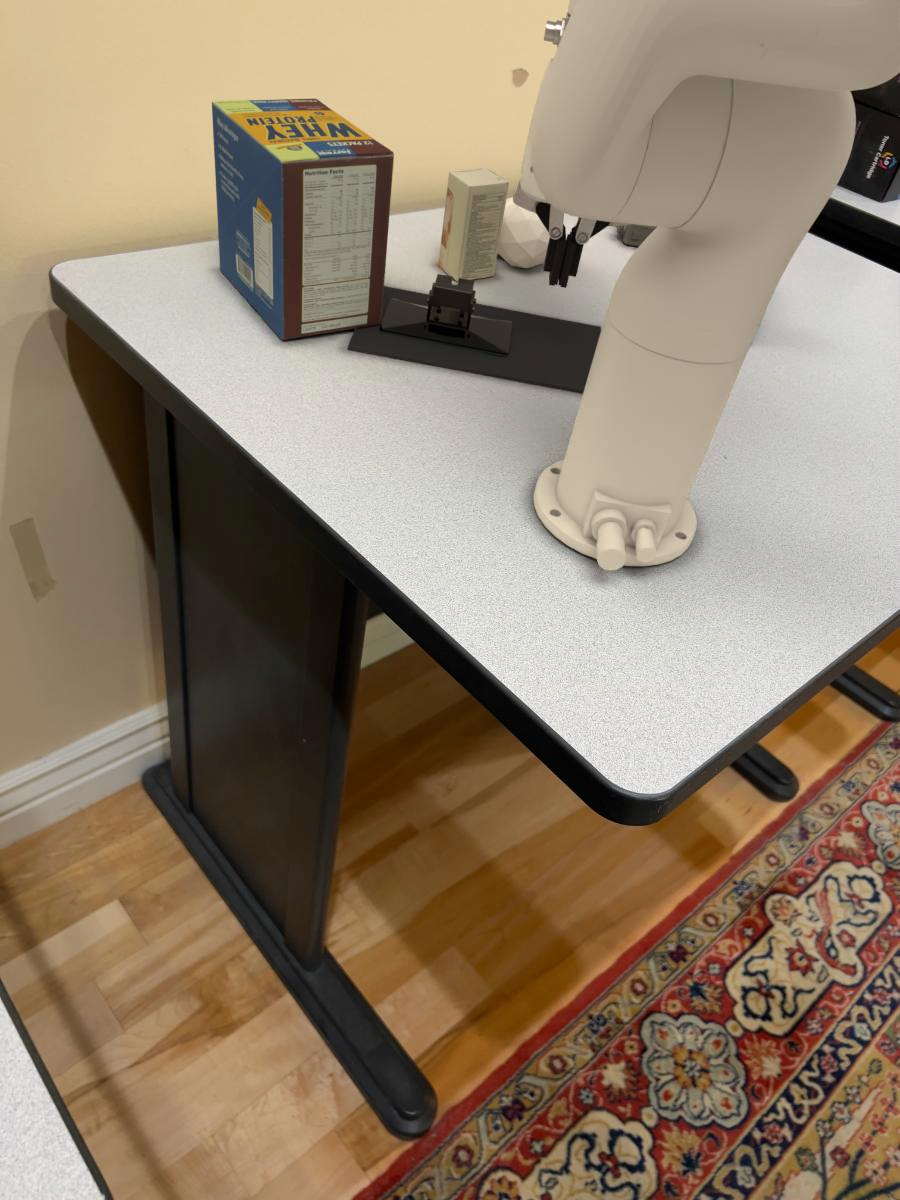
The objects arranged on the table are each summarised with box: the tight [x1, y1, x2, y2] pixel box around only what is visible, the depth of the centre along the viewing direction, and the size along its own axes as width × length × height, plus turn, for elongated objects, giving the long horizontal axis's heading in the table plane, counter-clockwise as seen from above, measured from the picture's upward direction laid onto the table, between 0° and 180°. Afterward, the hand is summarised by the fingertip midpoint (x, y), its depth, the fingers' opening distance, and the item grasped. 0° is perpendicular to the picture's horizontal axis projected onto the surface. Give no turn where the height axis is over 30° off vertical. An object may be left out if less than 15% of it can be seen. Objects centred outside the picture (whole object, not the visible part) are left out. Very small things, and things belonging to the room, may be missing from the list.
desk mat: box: [347, 285, 602, 394], centre depth 86 cm, size 14×24×1 cm, turn 85°
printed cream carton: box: [437, 167, 510, 282], centre depth 94 cm, size 5×4×10 cm
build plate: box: [379, 273, 512, 357], centre depth 85 cm, size 12×7×5 cm, turn 84°
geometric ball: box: [497, 196, 550, 269], centre depth 99 cm, size 8×8×8 cm
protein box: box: [211, 98, 395, 340], centre depth 81 cm, size 10×15×16 cm
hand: (557, 280), depth 81 cm, fingers closed
